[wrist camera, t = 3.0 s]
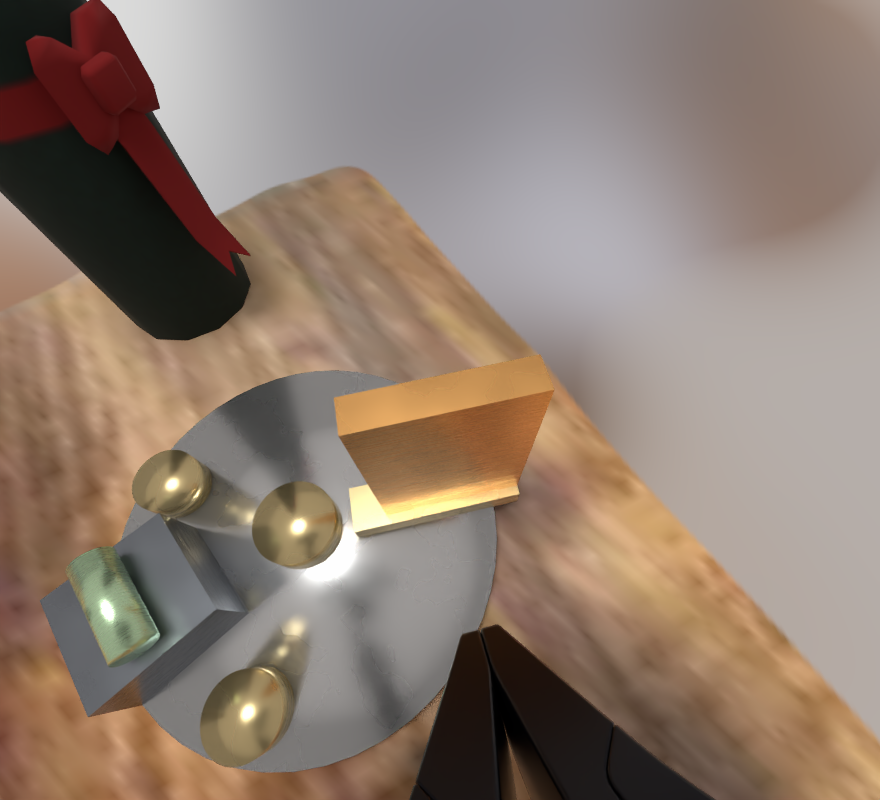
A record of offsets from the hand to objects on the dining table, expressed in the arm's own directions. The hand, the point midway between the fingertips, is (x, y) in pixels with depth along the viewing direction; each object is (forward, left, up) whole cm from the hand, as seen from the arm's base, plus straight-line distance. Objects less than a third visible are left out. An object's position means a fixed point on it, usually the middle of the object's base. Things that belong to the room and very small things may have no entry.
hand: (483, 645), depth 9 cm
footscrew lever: (+7, -1, -10) cm, 12 cm away
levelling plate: (+9, +3, -12) cm, 15 cm away
